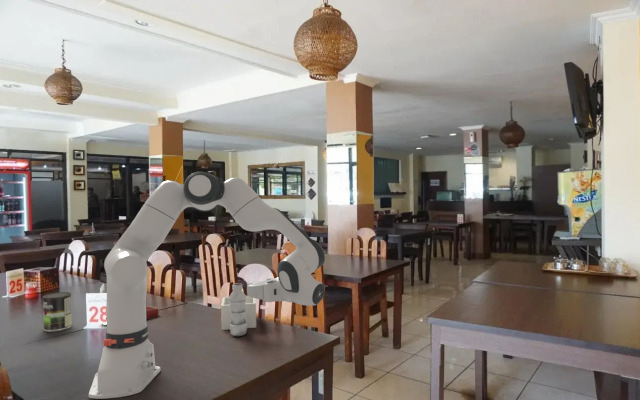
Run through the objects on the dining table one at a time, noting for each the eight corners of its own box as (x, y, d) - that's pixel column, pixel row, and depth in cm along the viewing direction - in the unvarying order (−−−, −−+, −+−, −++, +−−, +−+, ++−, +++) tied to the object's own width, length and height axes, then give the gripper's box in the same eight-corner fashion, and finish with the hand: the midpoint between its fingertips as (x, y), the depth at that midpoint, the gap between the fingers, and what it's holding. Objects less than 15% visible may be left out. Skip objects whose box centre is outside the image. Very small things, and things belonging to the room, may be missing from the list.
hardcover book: (159, 316, 190) (158, 307, 190) (116, 330, 172) (116, 319, 172) (142, 313, 196) (142, 304, 196) (99, 325, 178) (99, 316, 178)
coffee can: (52, 333, 168) (51, 298, 168) (38, 329, 173) (37, 296, 173) (77, 325, 177) (76, 293, 177) (63, 322, 182) (62, 291, 182)
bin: (256, 327, 170) (255, 303, 170) (221, 330, 167) (220, 305, 167) (255, 317, 184) (255, 295, 183) (223, 319, 181) (222, 297, 181)
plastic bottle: (243, 338, 157) (242, 286, 157) (227, 337, 158) (225, 286, 158) (249, 332, 163) (248, 282, 163) (233, 332, 165) (232, 282, 164)
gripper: (304, 273, 152) (278, 270, 161) (263, 284, 136) (236, 279, 145) (305, 290, 152) (278, 286, 161) (263, 303, 136) (237, 297, 145)
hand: (258, 283), depth 153 cm, fingers open, 8 cm apart
